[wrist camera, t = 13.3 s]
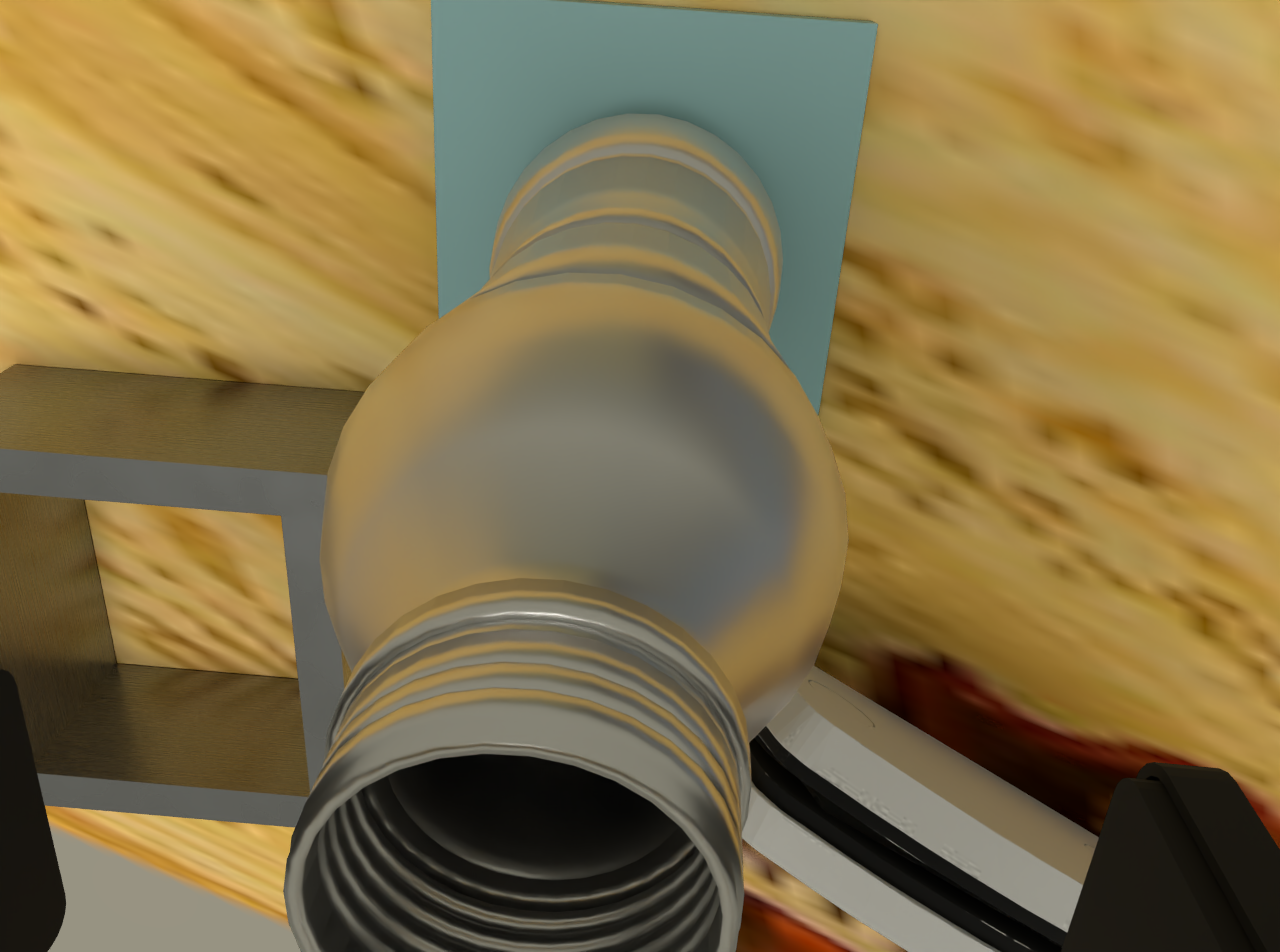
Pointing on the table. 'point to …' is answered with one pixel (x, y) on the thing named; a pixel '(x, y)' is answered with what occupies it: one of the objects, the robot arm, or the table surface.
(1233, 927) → the robot arm
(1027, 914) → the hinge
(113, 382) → the square socket
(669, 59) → the board
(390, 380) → the plastic bottle
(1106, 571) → the table surface
